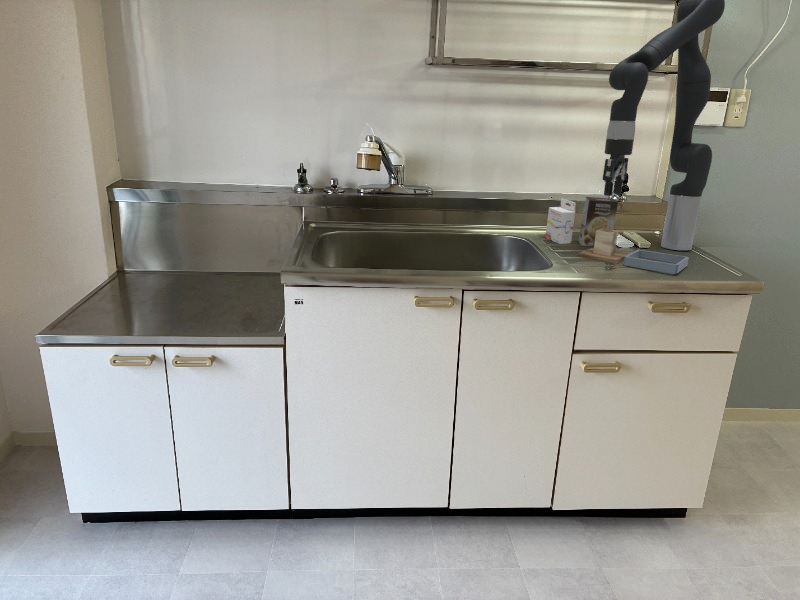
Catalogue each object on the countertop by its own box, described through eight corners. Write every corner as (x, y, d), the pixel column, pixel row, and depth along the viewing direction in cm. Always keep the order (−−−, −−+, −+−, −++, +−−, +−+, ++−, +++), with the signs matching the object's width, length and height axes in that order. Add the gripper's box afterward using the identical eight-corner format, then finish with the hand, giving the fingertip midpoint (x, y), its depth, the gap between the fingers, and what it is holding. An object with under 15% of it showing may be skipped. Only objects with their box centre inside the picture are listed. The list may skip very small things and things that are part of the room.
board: (590, 251, 183) (591, 247, 183) (629, 257, 177) (629, 253, 176) (577, 257, 174) (577, 253, 174) (616, 263, 167) (617, 259, 167)
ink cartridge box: (543, 241, 196) (549, 198, 190) (555, 240, 197) (561, 197, 192) (558, 247, 188) (565, 202, 183) (571, 246, 190) (577, 202, 185)
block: (598, 251, 178) (601, 228, 176) (614, 253, 176) (618, 230, 174) (593, 253, 175) (596, 230, 172) (609, 256, 172) (613, 232, 170)
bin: (636, 257, 177) (638, 249, 177) (687, 265, 169) (689, 257, 168) (622, 265, 166) (623, 256, 165) (676, 274, 158) (678, 265, 157)
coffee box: (581, 248, 187) (588, 199, 181) (577, 244, 193) (584, 196, 187) (610, 250, 186) (618, 201, 181) (605, 245, 192) (613, 197, 187)
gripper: (614, 137, 173) (607, 191, 177) (598, 137, 162) (591, 195, 166) (640, 138, 168) (632, 193, 173) (626, 138, 157) (617, 197, 162)
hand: (612, 194), depth 170 cm, fingers open, 8 cm apart
